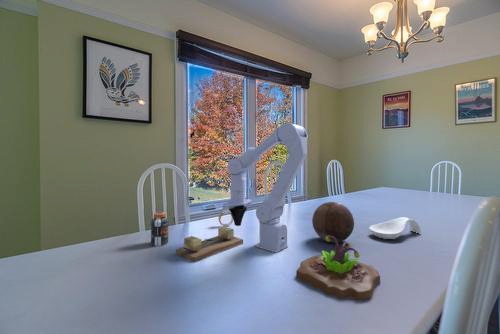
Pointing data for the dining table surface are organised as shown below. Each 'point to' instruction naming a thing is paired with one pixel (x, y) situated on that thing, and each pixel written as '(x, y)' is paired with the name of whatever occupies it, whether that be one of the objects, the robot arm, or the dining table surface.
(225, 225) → the ring
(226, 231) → the block
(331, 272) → the plant
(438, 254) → the dining table surface
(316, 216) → the wooden sphere
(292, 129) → the robot arm
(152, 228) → the pill bottle
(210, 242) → the flat brown board
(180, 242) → the dining table surface
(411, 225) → the spoon rest
